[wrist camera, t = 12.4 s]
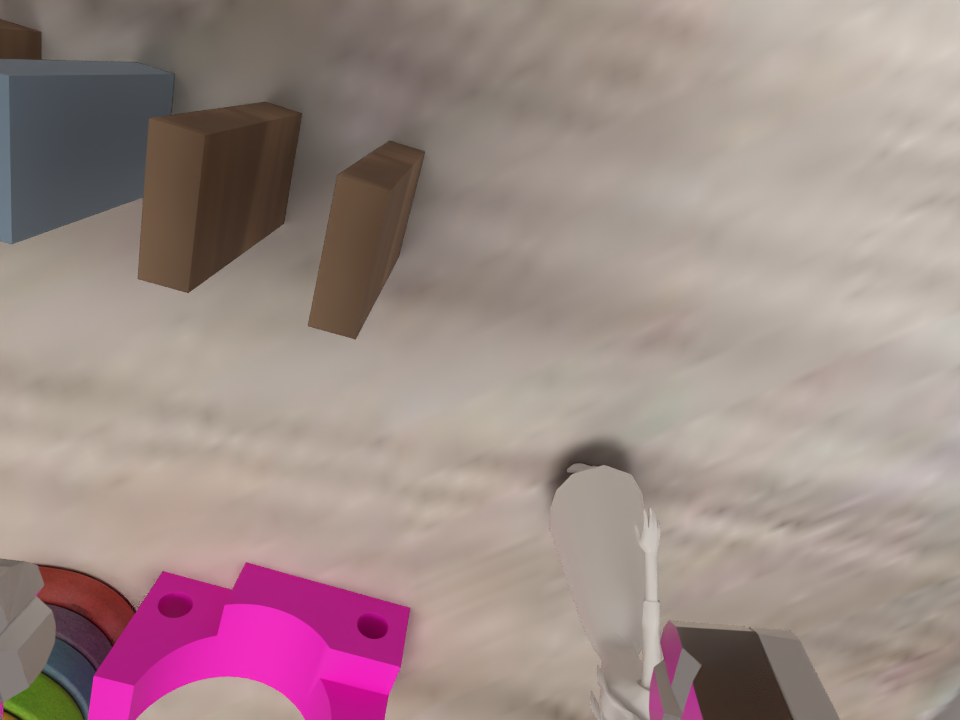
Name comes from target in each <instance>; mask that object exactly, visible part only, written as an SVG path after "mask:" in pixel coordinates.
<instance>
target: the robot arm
mask: <svg viewBox="0 0 960 720" xmlns="http://www.w3.org/2000/svg"><path fill="white" fill-rule="evenodd" d="M44 585H45V584H44V582H43V579H42V576H41V573H40V571H39V568H38V565H35V564H32V563H28V562H24V561H16V560H7V559H0V720H3V706H4V702H5V701H7V700H9V699H10V698H12V697H14V696H15V695H17V694H19V693H20V692H22V691H24V690H25V689H27V688H29V687H30V685H31V684H32V683H33V681H34V680H35V679H36V677H37V676H38V675H39V674H40V672H41V671H42V670H43V668H44V667H45V665H46V663H47V660H48V658H49V656H50V653H51V651H52V648H53V646H54V643H55V632H56V623H55V619H54V616H53V612H52V610H51V609H50V608H49V607H48V606H47V605H46V604H44V603H43V602H42V601H41V600H40V599H39V598H38V597H37V595H38V594H39V592H40V591H41V589H42V588H43V586H44ZM660 644H661V648H662V652H663V656H664V660H663V661H661V662H660V663H659V664H657V665H656V666H655V667H654V668H653V673H652V678H651V682H650V691H649V716H650V720H840V718H839V716H838V714H837V712H836V710H835V708H834V706H833V704H832V702H831V700H830V698H829V696H828V694H827V693H826V691H825V689H824V687H823V685H822V683H821V681H820V679H819V677H818V675H817V673H816V671H815V669H814V667H813V665H812V663H811V661H810V659H809V657H808V655H807V653H806V651H805V649H804V647H803V645H802V643H801V641H800V639H799V637H798V636H796V635H795V634H794V633H793V632H792V631H791V630H782V629H770V628H758V627H749V628H747V627H745V626H734V625H722V624H709V623H697V622H685V621H673V620H669V621H668V622H667V624H666V625H665V627H664V629H663V633H662V637H661V640H660Z"/></svg>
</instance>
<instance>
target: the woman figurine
mask: <svg viewBox="0 0 960 720" xmlns="http://www.w3.org/2000/svg"><path fill="white" fill-rule="evenodd" d="M567 472H570V473H574V474H572V475H571V476H570V477H569V478H568V479H567V480H566V481H565V482H564V483H563V484H562V485H561V486H560V487H559V488H558V489H557V490H556V493H555V496H554V499H553V502H552V505H551V508H550V528H549V529H550V532H551V535H552V538H553V541H554V544H555V546H556V549H557V552H558V555H559V558H560V561H561V564H562V567H563V570H564V573H565V576H566V579H567V582H568V585H569V588H570V590H571V593H572V596H573V599H574V602H575V605H576V608H577V611H578V614H579V617H580V619H581V622H582V625H583V627H584V629H585V632H586V634H587V636H588V639H589V641H590V642H591V644H592V646H593V647H594V649H595V651H596V653H597V654H598V656H599V657H600V659H601V660H602V666H601V669H600V667H599V665H597V682H598V684H599V686H600V706H601V710H600V709H599V705H598V702H597V700H596V698H595V696H594V694H593V692H592V691H591V696H590V701H591V703H590V706H591V710H592V711H593V714H594V716H595V717H596V718H597V719H598V720H650V716H649V691H650V682H651V678H652V673H653V668H654V667H655V666H656V665H657V664H659V663H660V662H661V661H662V650H661V644H660V640H661V627H660V601H659V600H658V562H657V554H658V547H659V540H660V533H661V532H660V523H659V521H658V519H657V518H656V515H655V512H653V513H652V509H651V508H650V509H649V518H648V519H647V515H646V511H645V509H644V503H643V494H642V492H641V490H640V489H639V487H638V485H637V483H636V482H635V480H634V478H633V477H632V475H631V474H629V473H626V472H623V471H620V470H617V469H614V468H612V467H609V466H606V465H602V466H599V467H597V466H592V467H591V466H588V465H585V464H582V463H576V464H573V465H572V466H571V467H569V468H568V469H567ZM641 650H643V661H641V660H640V658H639V656H638V655H639V653H640V652H641Z"/></svg>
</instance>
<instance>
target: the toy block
mask: <svg viewBox="0 0 960 720" xmlns="http://www.w3.org/2000/svg"><path fill="white" fill-rule="evenodd" d="M409 612H410V608H408V607H405V606H401V605H398V604H394V603H390V602H387V601H383V600H380V599H376V598H372V597H369V596H365V595H362V594H358V593H354V592H351V591H347V590H344V589H340V588H336V587H333V586H329V585H326V584H322V583H318V582H315V581H311V580H308V579H304V578H300V577H297V576H293V575H289V574H286V573H282V572H279V571H275V570H271V569H268V568H264V567H261V566H257V565H253V564H250V563H246V564H245V566H244V568H243V570H242V572H241V574H240V576H239V578H238V580H237V581H236V583H235V585H234V587H233V589H232V590H230V589H227V588H223V587H219V586H216V585H212V584H208V583H205V582H201V581H197V580H193V579H190V578H186V577H182V576H179V575H175V574H171V573H168V572H164V571H163V572H162V574H161V575H160V577H159V578H158V580H157V581H156V583H155V584H154V586H153V587H152V589H151V590H150V592H149V593H148V595H147V596H146V598H145V599H144V601H143V602H142V604H141V605H140V607H139V608H138V610H137V611H136V613H135V614H134V616H133V617H132V619H131V620H130V622H129V623H128V625H127V626H126V628H125V629H124V631H123V632H122V634H121V635H120V637H119V638H118V640H117V641H116V643H115V644H114V646H113V647H112V649H111V650H110V652H109V653H108V655H107V657H106V658H105V660H104V661H103V663H102V664H101V666H100V667H99V669H98V670H97V672H96V673H95V675H94V677H93V685H92V692H91V700H90V707H89V715H88V720H136V719H137V718H138V716H139V715H140V714H141V713H142V712H143V711H144V710H146V709H147V708H148V707H149V706H150V705H151V704H153V703H154V702H155V701H157V700H158V699H159V698H161V697H162V696H164V695H166V694H167V693H169V692H171V691H173V690H175V689H177V688H179V687H181V686H183V685H186V684H188V683H192V682H195V681H198V680H202V679H207V678H213V677H227V676H229V677H241V678H248V679H252V680H256V681H259V682H261V683H264V684H266V685H269V686H271V687H273V688H274V689H276V690H278V691H279V692H281V693H282V694H283V695H285V696H286V697H287V698H288V699H289V700H290V701H291V702H292V703H293V704H294V705H295V706H296V707H297V708H298V709H299V711H300V712H301V714H302V715H303V717H304V718H305V720H384V719H385V713H386V707H387V701H388V696H389V693H390V691H391V689H392V686H393V684H394V682H395V679H396V677H397V675H398V672H399V670H400V668H401V662H402V656H403V649H404V643H405V637H406V630H407V624H408V618H409Z"/></svg>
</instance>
